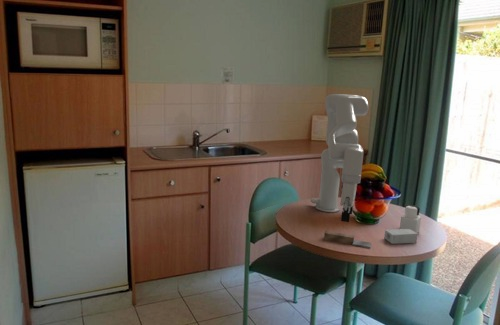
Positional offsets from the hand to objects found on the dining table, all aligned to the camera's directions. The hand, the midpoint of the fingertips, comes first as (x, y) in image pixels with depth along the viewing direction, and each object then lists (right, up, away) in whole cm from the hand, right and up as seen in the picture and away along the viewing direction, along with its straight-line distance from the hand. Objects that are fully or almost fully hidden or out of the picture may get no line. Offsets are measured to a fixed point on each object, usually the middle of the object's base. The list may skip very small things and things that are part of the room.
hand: (346, 217), depth 176 cm
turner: (0, -11, +1) cm, 11 cm away
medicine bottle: (+33, -9, +18) cm, 39 cm away
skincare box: (+18, -9, +4) cm, 21 cm away
